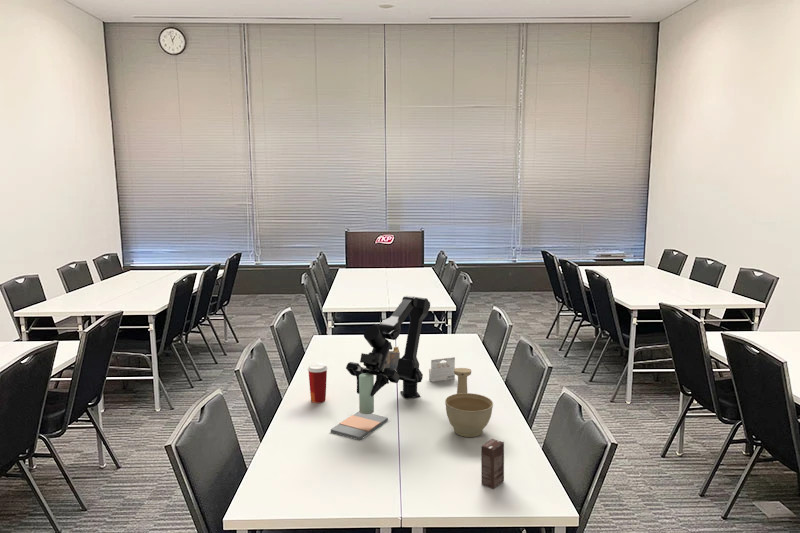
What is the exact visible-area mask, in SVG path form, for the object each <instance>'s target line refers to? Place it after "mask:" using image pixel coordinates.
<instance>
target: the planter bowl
mask: <svg viewBox="0 0 800 533" xmlns="http://www.w3.org/2000/svg"><path fill="white" fill-rule="evenodd" d="M444 404H445V412H446V416H447V419H448V421H449V423H450V424H451V426H452V428H453V430H454V433H455V434H456V435H458V436H461V437H465V438H474V437H475V438H476V437H478V436H480V435H482V433H483V430H484V429H485V428H486V427H487V425H488V423H489V422H490V419H491V417H492V413H493V407H494V403H493V400H492V399H491V398H489V397H488V396H485V395H482V394H478V393H471V392H467V393H459V394H457V393H454V394H451V395H449V396H447V397H446V398H445V401H444Z"/></svg>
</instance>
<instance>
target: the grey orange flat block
mask: <svg viewBox="0 0 800 533" xmlns="http://www.w3.org/2000/svg"><path fill="white" fill-rule="evenodd" d="M388 420H389V417H387V416H383V415H379V414H376V413H375V414H374V413H372V414H361V413H360V412H359V411H358V412H355V413H354V414H352V415H350V416H348V417H347V418H345V419H344V420H342V421H340V422H339V423H338V424H337V425H335V426H333V427H331V429H330V433H332V432H333V434H336V433H337V435H340V434H341V436H343V435H344V437H347V436H348V437H347V438H351V437H352V438H351V439H354V438H355V440H358V439H359V441H361V440H362V439H363V437H364V438H365V437H366V436H368V435H369V434H370V432H371V433H373V431H375V430H376V429H377V428H379V427H381V426H382V425H383V424H385V423H386V422H387V421H388Z"/></svg>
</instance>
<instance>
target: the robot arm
mask: <svg viewBox="0 0 800 533" xmlns="http://www.w3.org/2000/svg"><path fill="white" fill-rule="evenodd" d="M430 308H431V301H429V300H428V298H426V297H425V298H424V297H418V296H411V295H405V296H403V297H402V299H401V302H400V303H399V304H398V306H397V308H396V309H395V310H394V311H393V313H392V314H391V315H390V316H389V317H388V318H385V319H383V320H382V322H380V323H379V324H378V323H372V325H371V326H369V327H367V328H366V329H365V330H364V332H363V337H364V339H365V340H366V342H367V343H368V345H369V346H370V347H371V348H372V350H371V351H369V353H364V352H363V353H361V354H360V360H359V362H354V361H350V362H348V363H346V366H345V369H346V370H347V372H348V373H349V374H350V375H351V376H354V377H356V393H357V395H359V375H360V374H362V373H371V374H373V375H374V376H375V381H374V386H373V389H372V391H371V396H374V397H375V395H376V393H378V392H379V391H380V389H382V388H383V387H384V386H385V385H387V384H390V383H394V384H398V383H399V381H402V390H400V394H401V396H402V397H403V398H404V399H411V398H418V397H421V394H420V393H419V392H418V383H421V382H422V380H423V378H424V377H423V376H424V375H423V373H422V371H421V370H420V363H419V359H418V358H417V357H418V349H419V344H420V338H421V333H422V332H421V331H422V326H423V320H425V318H426V317H427V316H428V315H429V314H428V313H429V310H430ZM408 316H409V323H408V324H409V326H408V330H407V337H406V343H405V348H404V354H403V355H402V357H400V358H399V360H398V366H397V368H385V369H383V366H384V364H386V363H387V361H386V358H387V355H388V352H389V351H393V345H392V342H391V341H389V340H392V341H396V340H397V339H398V338H399V336H400V334H401V332H402V329H401V326H402V325H403V323H404V321H405V320H406V318H408ZM359 363H360V364H361V363H362V364H363V366H364V367H362V366H361V365H360V364H359Z"/></svg>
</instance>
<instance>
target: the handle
mask: <svg viewBox="0 0 800 533" xmlns="http://www.w3.org/2000/svg"><path fill="white" fill-rule="evenodd" d="M454 374H455V376H457V386H456V388H457V389H456V394H459V393H468V376H471V375H472V369H470V368H466V367H457V368H456V367H455V369H454Z"/></svg>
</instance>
